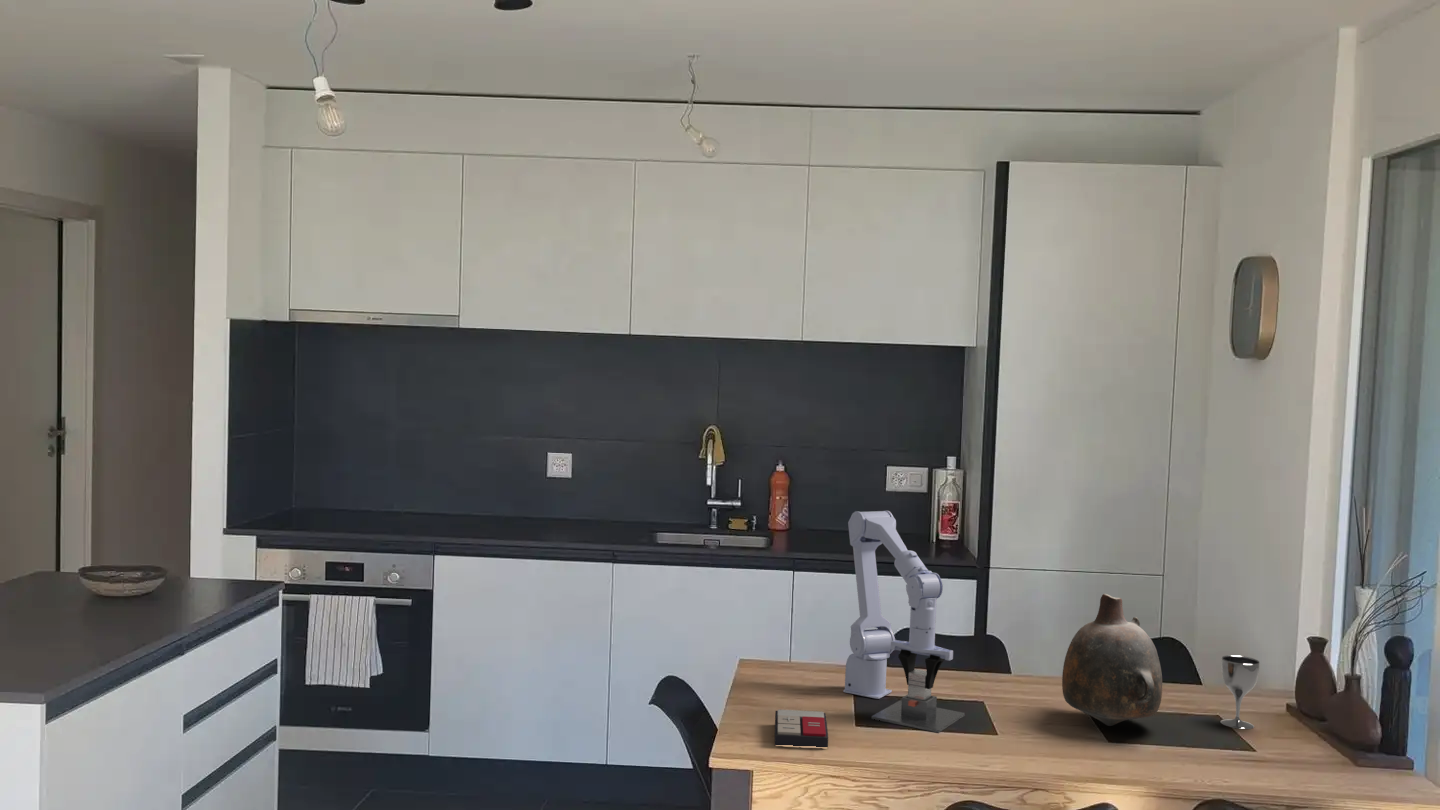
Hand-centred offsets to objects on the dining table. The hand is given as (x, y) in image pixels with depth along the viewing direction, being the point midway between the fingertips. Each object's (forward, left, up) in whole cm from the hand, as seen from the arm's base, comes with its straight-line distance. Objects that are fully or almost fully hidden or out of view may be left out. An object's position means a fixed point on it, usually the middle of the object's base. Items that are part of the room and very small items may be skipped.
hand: (919, 686), depth 273 cm
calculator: (-15, -29, -8) cm, 34 cm away
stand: (0, 0, -7) cm, 7 cm away
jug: (+37, +22, -7) cm, 44 cm away
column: (0, 0, -5) cm, 5 cm away
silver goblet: (+61, +42, -7) cm, 74 cm away
